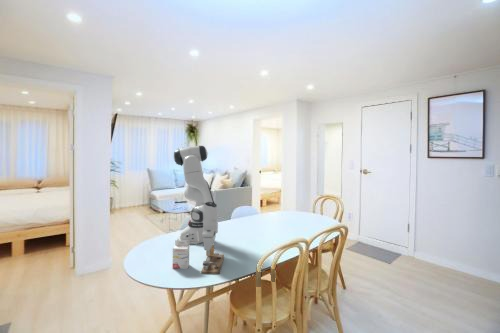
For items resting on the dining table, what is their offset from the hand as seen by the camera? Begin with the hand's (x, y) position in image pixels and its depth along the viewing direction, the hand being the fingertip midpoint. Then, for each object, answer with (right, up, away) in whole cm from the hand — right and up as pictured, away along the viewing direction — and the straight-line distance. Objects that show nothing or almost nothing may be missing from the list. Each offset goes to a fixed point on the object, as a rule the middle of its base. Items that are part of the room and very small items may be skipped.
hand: (210, 251), depth 150 cm
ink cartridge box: (-15, -6, -9) cm, 19 cm away
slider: (+2, -4, 0) cm, 4 cm away
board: (+3, -6, -5) cm, 8 cm away
